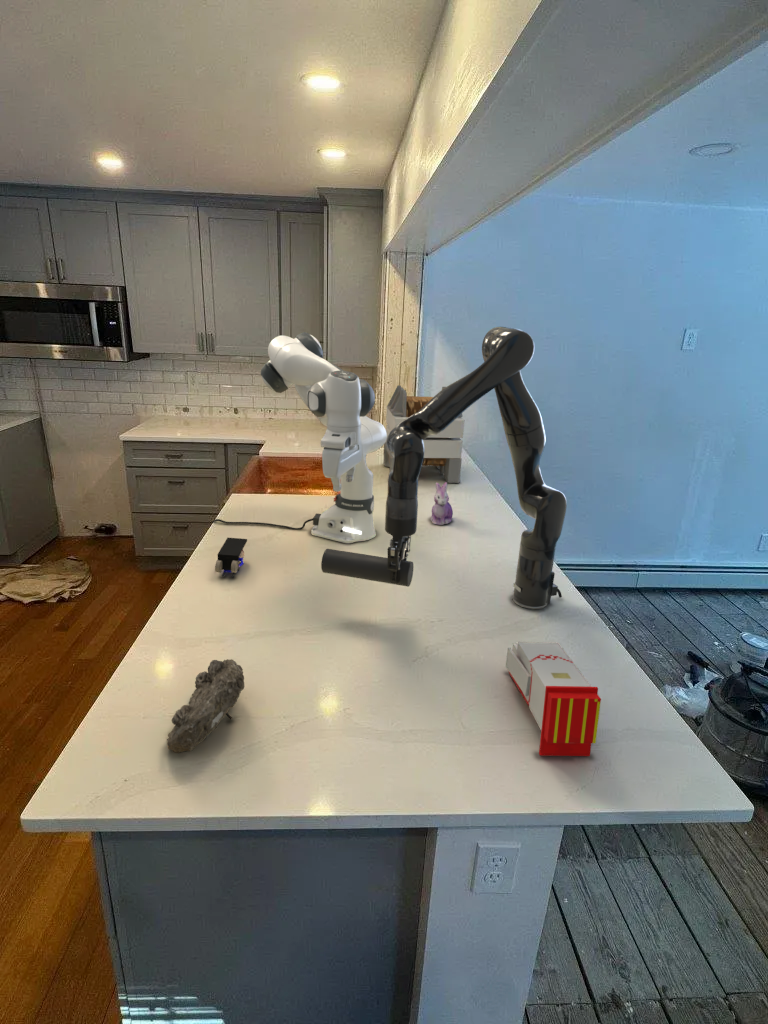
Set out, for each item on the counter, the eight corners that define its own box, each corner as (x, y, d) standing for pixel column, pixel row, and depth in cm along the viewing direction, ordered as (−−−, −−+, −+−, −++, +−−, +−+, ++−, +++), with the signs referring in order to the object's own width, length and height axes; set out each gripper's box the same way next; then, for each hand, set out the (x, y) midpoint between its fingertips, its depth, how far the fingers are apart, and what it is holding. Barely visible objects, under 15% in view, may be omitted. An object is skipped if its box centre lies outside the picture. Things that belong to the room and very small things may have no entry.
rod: (321, 576, 142) (321, 554, 140) (329, 566, 147) (330, 545, 145) (407, 590, 136) (408, 567, 134) (412, 580, 142) (414, 557, 140)
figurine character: (238, 584, 162) (249, 557, 175) (236, 562, 158) (247, 536, 172) (215, 584, 161) (227, 556, 175) (212, 561, 158) (225, 535, 171)
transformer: (382, 463, 289) (386, 382, 275) (445, 464, 293) (451, 384, 279) (390, 482, 257) (394, 392, 243) (460, 483, 261) (468, 394, 247)
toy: (554, 624, 127) (610, 694, 97) (548, 679, 130) (602, 763, 100) (500, 623, 126) (541, 693, 97) (496, 678, 129) (534, 763, 100)
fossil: (192, 660, 117) (244, 628, 112) (224, 691, 120) (276, 661, 115) (142, 746, 98) (202, 712, 93) (182, 779, 101) (242, 748, 96)
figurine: (438, 527, 207) (441, 488, 202) (423, 518, 216) (426, 480, 211) (459, 523, 211) (463, 485, 206) (444, 514, 220) (447, 477, 215)
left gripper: (346, 427, 158) (346, 475, 163) (317, 441, 140) (318, 495, 144) (367, 429, 157) (366, 477, 161) (341, 444, 138) (341, 498, 143)
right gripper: (409, 525, 126) (405, 592, 132) (423, 505, 139) (419, 567, 145) (377, 520, 128) (375, 587, 134) (394, 501, 141) (391, 562, 147)
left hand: (343, 486), depth 153 cm, fingers open, 8 cm apart
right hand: (398, 576), depth 139 cm, fingers closed on rod, 6 cm apart
